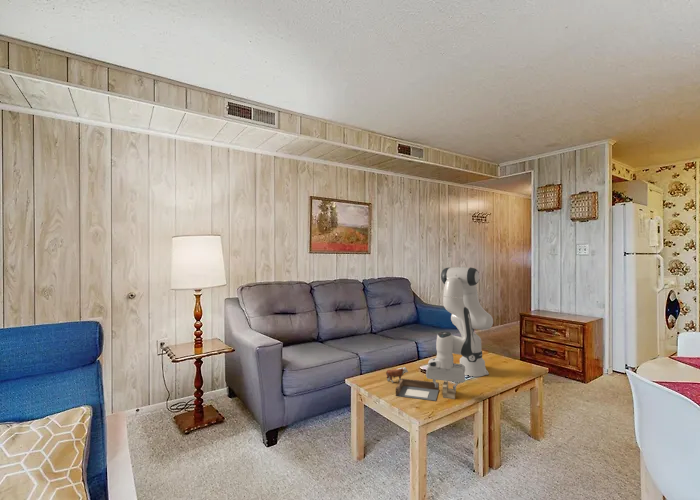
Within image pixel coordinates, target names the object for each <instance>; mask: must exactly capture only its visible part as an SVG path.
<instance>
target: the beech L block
mask: <svg viewBox="0 0 700 500" xmlns="http://www.w3.org/2000/svg"><path fill="white" fill-rule="evenodd" d="M456 393H457V389H456V390H453V388H450V387H449V381H444V380H443V383H442V398H443V399H450V400H456Z"/></svg>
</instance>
